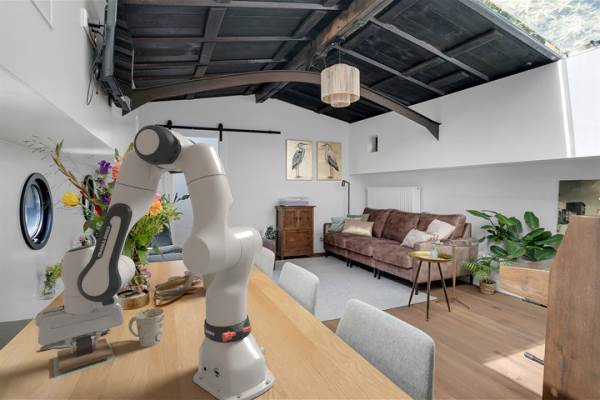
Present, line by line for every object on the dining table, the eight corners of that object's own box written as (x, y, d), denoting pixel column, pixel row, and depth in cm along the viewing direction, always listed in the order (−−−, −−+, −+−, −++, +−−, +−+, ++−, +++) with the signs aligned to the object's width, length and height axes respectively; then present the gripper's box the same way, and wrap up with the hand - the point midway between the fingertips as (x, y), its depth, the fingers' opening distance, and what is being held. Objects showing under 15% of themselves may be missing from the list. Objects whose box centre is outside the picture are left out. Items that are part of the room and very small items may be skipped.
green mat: (116, 361, 89) (116, 359, 89) (54, 380, 80) (54, 378, 80) (108, 342, 99) (108, 340, 99) (53, 358, 91) (53, 356, 91)
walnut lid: (111, 356, 89) (111, 339, 88) (59, 372, 81) (58, 354, 81) (105, 340, 98) (104, 326, 98) (57, 354, 90) (56, 338, 90)
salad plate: (55, 360, 90) (55, 345, 90) (23, 347, 97) (22, 333, 97) (118, 332, 108) (118, 319, 107) (86, 323, 115) (86, 311, 115)
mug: (153, 351, 94) (152, 319, 93) (118, 347, 96) (117, 316, 96) (170, 338, 102) (169, 309, 102) (137, 335, 104) (136, 306, 104)
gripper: (34, 314, 80) (37, 367, 80) (124, 296, 93) (125, 341, 93) (35, 307, 84) (37, 357, 85) (120, 291, 98) (121, 334, 98)
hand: (84, 348), depth 89 cm, fingers closed on walnut lid, 3 cm apart
